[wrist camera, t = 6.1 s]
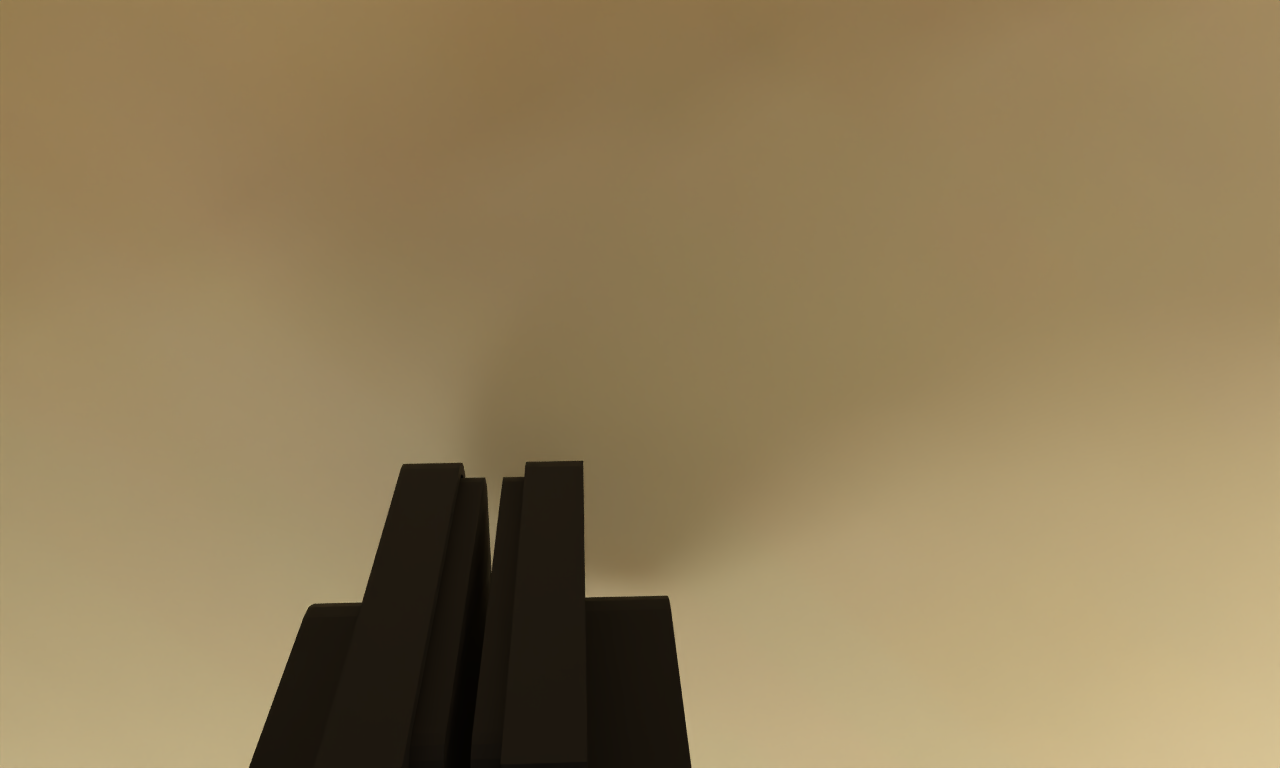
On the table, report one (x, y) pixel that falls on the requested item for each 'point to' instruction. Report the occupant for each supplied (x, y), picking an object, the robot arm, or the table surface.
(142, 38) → the table surface
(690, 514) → the table surface
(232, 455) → the table surface
